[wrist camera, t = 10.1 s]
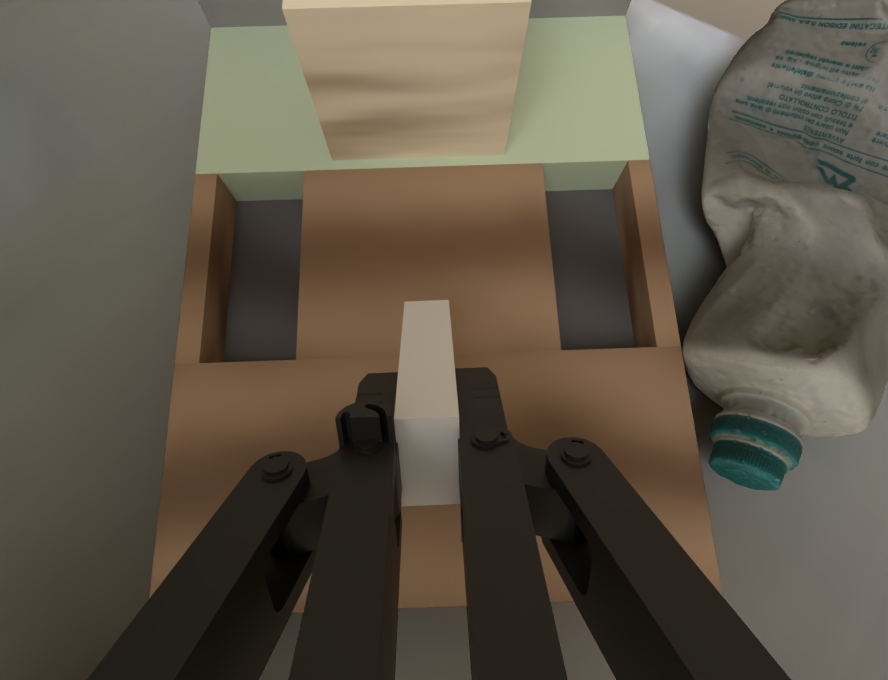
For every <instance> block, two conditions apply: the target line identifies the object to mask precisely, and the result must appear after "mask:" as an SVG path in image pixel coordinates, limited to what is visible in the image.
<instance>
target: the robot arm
mask: <svg viewBox="0 0 888 680" xmlns="http://www.w3.org/2000/svg"><path fill="white" fill-rule="evenodd" d="M335 422H336V428H337V435H338V441H339V450H338V451H336V452H335V453H333V454H331V455H329V456H327V457H324V458H321V459H318V460H314V461H310V462H306V460H305V458H304V457H302V456H301V455H300V454H299V453H295V452H292V451H279V452H275V453H271V454H268V455H266V456H264V457H262V458H260V459H258V460H257V461H256V462H255V463H254V464H253V465H252V466H251V467H250V468H249V470H248V471H247V472H246V473H245V475H244V476H243V477H242V479H241V480H240V481H239V483H238V484H237V485H236V486H235V488H234V489H233V490H232V492H231V493H230V494H229V496H228V497H227V498H226V500H225V501H224V502H223V503H222V505H221V506H220V507H219V509H218V510H217V511H216V513H215V514H214V515H213V516H212V518H211V519H210V520H209V522H208V523H207V524H206V526H205V527H204V528H203V529H202V531H201V532H200V533H199V535H198V536H197V537H196V539H195V540H194V541H193V543H192V544H191V545H190V546H189V548H188V549H187V550H186V552H185V553H184V554H183V556H182V557H181V558H180V559H179V561H178V562H177V563H176V565H175V566H174V567H173V569H172V570H171V571H170V573H169V574H168V575H167V576H166V578H165V579H164V580H163V582H162V583H161V584H160V586H159V587H158V588H157V589H156V591H155V592H154V593H153V595H152V596H151V597H150V599H149V600H148V601H147V602H146V604H145V605H144V606H143V608H142V609H141V610H140V612H139V613H138V614H137V616H136V617H135V618H134V619H133V621H132V622H131V623H130V625H129V626H128V627H127V629H126V630H125V631H124V632H123V634H122V635H121V636H120V638H119V639H118V640H117V642H116V643H115V644H114V645H113V647H112V648H111V649H110V651H109V652H108V653H107V655H106V656H105V657H104V659H103V660H102V661H101V662H100V664H99V665H98V666H97V668H96V669H95V670H94V672H93V673H92V674H91V675H90V677H89V678H88V679H87V680H259V678H260V676H261V674H262V672H263V670H264V668H265V666H266V664H267V662H268V660H269V658H270V656H271V654H272V652H273V650H274V648H275V646H276V644H277V642H278V640H279V638H280V636H281V634H282V632H283V630H284V628H285V626H286V624H287V622H288V620H289V618H290V616H291V613H292V611H293V609H294V607H295V605H296V603H297V601H298V599H299V597H300V595H301V593H302V591H303V589H304V587H305V585H306V583H307V581H308V579H309V577H310V575H311V573H312V575H311V579H310V584H309V589H308V593H307V598H306V602H305V607H304V612H303V616H302V621H301V625H300V630H299V635H298V639H297V644H296V648H295V653H294V658H293V662H292V667H291V671H290V676H289V680H395V665H396V644H397V623H398V603H399V582H400V561H401V541H402V514H401V500H402V506H423V505H445V504H460V508H461V542H462V545H463V559H464V574H465V588H466V603H467V617H468V632H469V646H470V661H471V675H472V680H567V675H566V671H565V666H564V662H563V657H562V653H561V648H560V644H559V639H558V635H557V630H556V626H555V621H554V617H553V612H552V608H551V603H550V599H549V594H548V590H547V585H546V581H545V576H544V571H543V567H542V562H541V558H540V553H539V549H538V544H537V540H536V535H537V536H541V539H542V543H543V545H544V547H545V548H546V550H547V552H548V554H549V556H550V558H551V560H552V561H553V563H554V565H555V567H556V569H557V571H558V573H559V574H560V576H561V578H562V580H563V582H564V584H565V585H566V587H567V589H568V591H569V593H570V595H571V597H572V598H573V600H574V602H575V604H576V606H577V608H578V609H579V611H580V613H581V615H582V617H583V619H584V621H585V622H586V624H587V626H588V628H589V630H590V632H591V634H592V635H593V637H594V639H595V641H596V643H597V645H598V646H599V648H600V650H601V652H602V654H603V656H604V658H605V659H606V661H607V663H608V665H609V667H610V669H611V671H612V672H613V674H614V676H615V678H616V680H791V679H790V678H789V677H788V676H787V674H786V673H785V672H784V671H783V669H782V668H781V667H780V666H779V665H778V663H777V662H776V661H775V660H774V659H773V657H772V656H771V655H770V654H769V652H768V651H767V650H766V649H765V648H764V646H763V645H762V644H761V643H760V641H759V640H758V639H757V638H756V637H755V635H754V634H753V633H752V632H751V631H750V629H749V628H748V627H747V626H746V624H745V623H744V622H743V621H742V620H741V618H740V617H739V616H738V615H737V613H736V612H735V611H734V610H733V609H732V607H731V606H730V605H729V604H728V602H727V601H726V600H725V599H724V598H723V596H722V595H721V594H720V593H719V592H718V590H717V589H716V588H715V587H714V585H713V584H712V583H711V582H710V581H709V579H708V578H707V577H706V576H705V574H704V573H703V572H702V571H701V570H700V568H699V567H698V566H697V565H696V564H695V562H694V561H693V560H692V559H691V557H690V556H689V555H688V554H687V553H686V551H685V550H684V549H683V548H682V546H681V545H680V544H679V543H678V542H677V540H676V539H675V538H674V537H673V536H672V534H671V533H670V532H669V531H668V529H667V528H666V527H665V526H664V525H663V523H662V522H661V521H660V520H659V518H658V517H657V516H656V515H655V514H654V512H653V511H652V510H651V509H650V507H649V506H648V505H647V504H646V503H645V501H644V500H643V499H642V498H641V497H640V495H639V494H638V493H637V492H636V490H635V489H634V488H633V487H632V486H631V484H630V483H629V482H628V481H627V479H626V478H625V477H624V476H623V475H622V473H621V472H620V471H619V470H618V469H617V467H616V466H615V465H614V464H613V462H612V461H611V460H610V459H609V458H608V456H607V455H606V454H605V453H604V451H603V450H602V449H601V448H599V447H598V446H597V445H596V444H595V443H593V442H590V441H588V440H586V439H582V438H576V437H567V438H561V439H558V440H556V441H554V442H553V443H552V444H551V445H550V446H548V450H543V449H538V448H533V447H530V446H526V445H524V444H522V443H520V442H518V441H517V440H515V439H514V437H513V436H512V434H511V432H510V431H509V430H508V428H507V424H506V419H505V414H504V410H503V405H502V400H501V397H500V391H499V386H498V382H497V377H496V375H495V374H494V373H493V372H492V371H491V370H490V369H489V368H488V367H478V368H455V364H454V353H453V342H452V331H451V319H450V308H449V300H431V301H406V302H404V312H403V323H402V334H401V346H400V357H399V368H398V372H388V373H368V374H367V375H366V376H365V377H364V378H363V379H362V380H361V382H360V383H359V386H358V391H357V396H356V400H355V403H353V404H350V405H348V406H346V407H344V408H343V409H342V410H340V411H339V412H338V414H337V416H336V417H335Z"/></svg>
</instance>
